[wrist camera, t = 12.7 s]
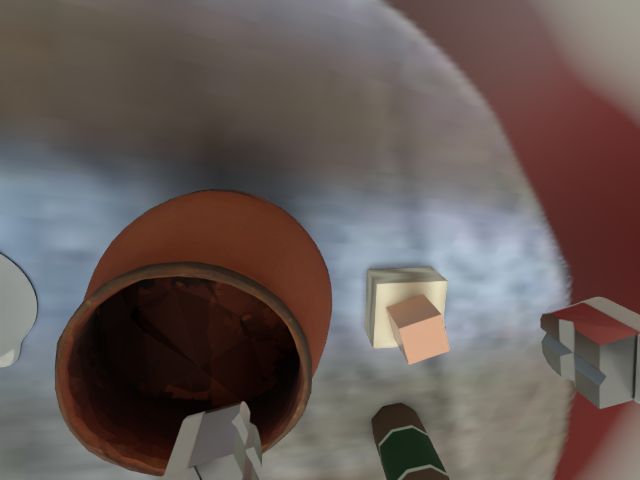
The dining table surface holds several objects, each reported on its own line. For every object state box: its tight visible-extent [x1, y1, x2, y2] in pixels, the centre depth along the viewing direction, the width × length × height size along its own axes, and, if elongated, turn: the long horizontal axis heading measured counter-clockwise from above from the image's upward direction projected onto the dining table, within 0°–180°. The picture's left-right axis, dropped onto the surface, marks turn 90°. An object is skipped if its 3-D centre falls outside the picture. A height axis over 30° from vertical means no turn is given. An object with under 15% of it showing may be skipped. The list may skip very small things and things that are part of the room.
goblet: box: [55, 189, 332, 477], centre depth 31 cm, size 19×19×25 cm
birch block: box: [365, 267, 448, 348], centre depth 45 cm, size 9×9×5 cm
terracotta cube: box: [386, 294, 450, 365], centre depth 40 cm, size 5×5×5 cm
